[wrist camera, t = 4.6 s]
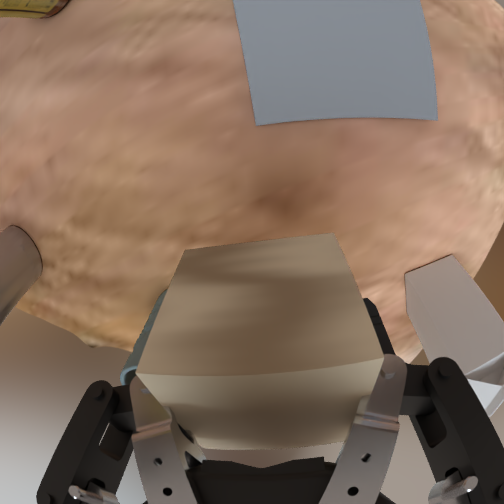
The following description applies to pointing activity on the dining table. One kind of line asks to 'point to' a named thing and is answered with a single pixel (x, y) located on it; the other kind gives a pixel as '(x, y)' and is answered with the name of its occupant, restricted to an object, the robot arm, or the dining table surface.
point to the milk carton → (458, 326)
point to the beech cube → (263, 345)
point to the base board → (337, 59)
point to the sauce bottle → (30, 8)
